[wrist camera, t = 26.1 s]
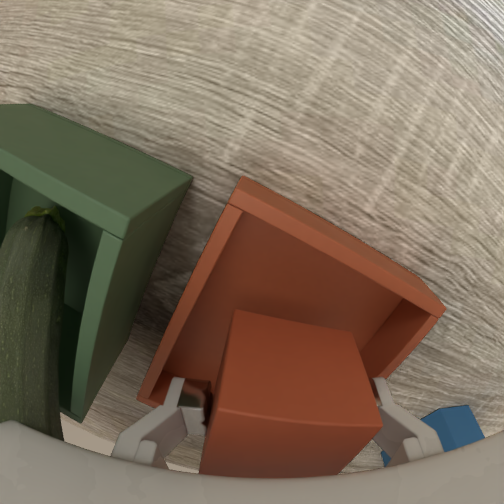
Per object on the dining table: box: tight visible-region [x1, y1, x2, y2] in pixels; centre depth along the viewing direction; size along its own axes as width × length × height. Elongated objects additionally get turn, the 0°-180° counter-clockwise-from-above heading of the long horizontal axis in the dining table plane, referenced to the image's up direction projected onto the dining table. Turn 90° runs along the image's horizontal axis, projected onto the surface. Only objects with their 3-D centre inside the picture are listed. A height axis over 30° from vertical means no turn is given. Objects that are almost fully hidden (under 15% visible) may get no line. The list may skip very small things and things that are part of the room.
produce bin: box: [0, 104, 193, 423], centre depth 11 cm, size 10×10×6 cm
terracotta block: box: [198, 309, 383, 478], centre depth 10 cm, size 5×5×5 cm
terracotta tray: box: [136, 176, 446, 408], centre depth 14 cm, size 12×10×3 cm
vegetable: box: [0, 206, 69, 441], centre depth 8 cm, size 4×4×20 cm
